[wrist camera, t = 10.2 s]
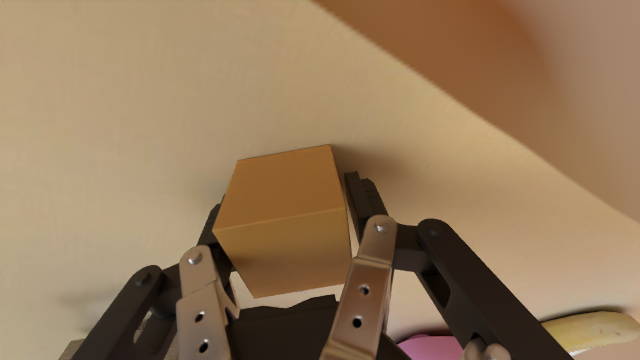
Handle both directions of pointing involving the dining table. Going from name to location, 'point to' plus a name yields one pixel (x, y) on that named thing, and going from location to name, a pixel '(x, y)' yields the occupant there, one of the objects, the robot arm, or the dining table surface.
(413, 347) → the teapot
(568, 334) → the fruit
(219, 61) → the dining table surface
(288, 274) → the light brown cube
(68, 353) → the cabinet drawer
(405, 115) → the dining table surface
